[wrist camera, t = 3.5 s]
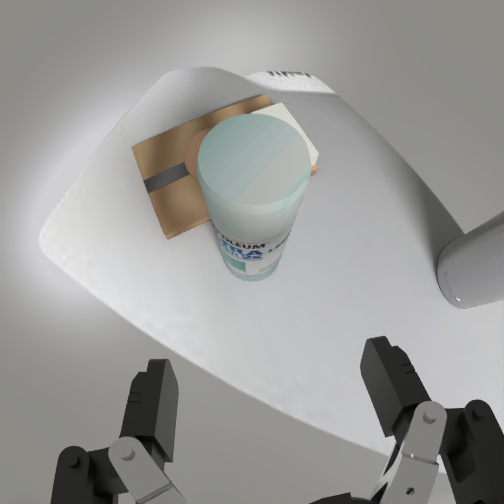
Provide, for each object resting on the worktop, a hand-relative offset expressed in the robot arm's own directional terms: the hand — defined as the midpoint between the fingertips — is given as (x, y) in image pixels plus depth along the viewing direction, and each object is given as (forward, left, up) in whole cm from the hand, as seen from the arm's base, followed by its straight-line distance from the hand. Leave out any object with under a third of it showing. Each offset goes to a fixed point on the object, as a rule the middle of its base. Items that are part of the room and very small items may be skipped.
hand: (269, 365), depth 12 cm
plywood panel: (-6, -23, -22) cm, 32 cm away
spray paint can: (-4, -10, -22) cm, 24 cm away
